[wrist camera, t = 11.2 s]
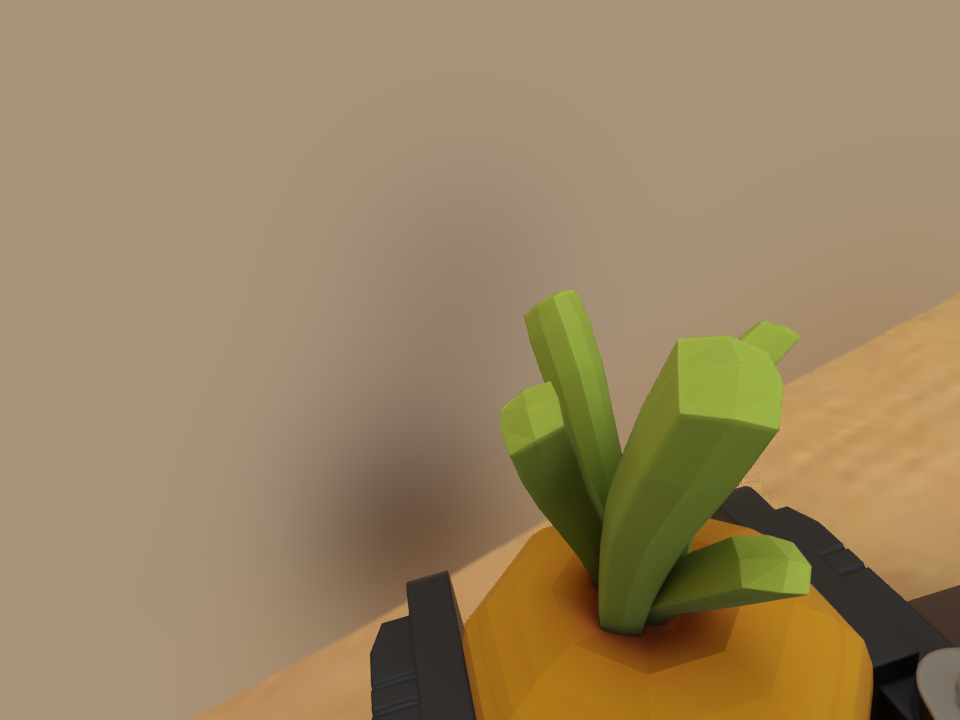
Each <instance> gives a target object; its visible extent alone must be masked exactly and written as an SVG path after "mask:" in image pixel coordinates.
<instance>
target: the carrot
mask: <svg viewBox="0 0 960 720" xmlns="http://www.w3.org/2000/svg"><path fill="white" fill-rule="evenodd" d="M524 317H525V322H526V326H527V330H528V334H529V338H530V342H531V345H532V348H533V351H534V354H535V356H536V360H537V362H538V365H539V368H540V371H541V374H542V377H543V380H544V383H543V384H540V385H537V386H534V387H531V388H528V389H525V390H523V391H521V393H519V394H518V395H517V396H516V397H515V398H514V399H512V400H511V401H510V402H509V403H508V404H507V405H505V406H504V407H503V408H502V409H501V410H500V412H501V413H500V414H501V432H502V435H503V438H504V440H505V443H506V446H507V449H508V452H509V455H510V457H511V459H512V461H513V463H514V466H515V468H516V470H517V472H518V475H519V477H520V479H521V481H522V483H523V485H524V486H525V488H526V489H527V490H528V492H529V494H530V495H531V497H532V498H533V500H534V501H535V503H536V504H537V506H538V507H539V509H540V510H541V511H542V512H543V514H544V515H545V516H546V517H547V519H548V520H549V521H550V522H551V524H552V525H553V526H551V527H547V528H544V529H542V530H540V531H539V532H537V533H535V534H534V535H532V536H531V538H530V539H529V540H528V542H527V543H526V544H525V546H524V547H523V548H522V549H521V551H520V552H519V553H518V555H517V556H516V557H515V559H514V560H513V561H512V563H511V564H510V565H509V566H508V568H507V569H506V570H505V572H504V573H503V574H502V576H501V577H500V578H499V580H498V581H497V582H496V583H495V585H494V586H493V587H492V589H491V590H490V591H489V593H488V594H487V595H486V597H485V598H484V599H483V601H482V602H481V603H480V604H479V606H478V607H477V608H476V610H475V611H474V612H473V614H472V615H471V616H470V618H469V619H468V620H467V621H466V623H465V628H464V636H463V643H462V644H463V651H464V656H465V662H466V667H467V672H468V677H469V683H470V688H471V693H472V699H473V704H474V709H475V714H476V720H870V713H871V705H872V696H873V665H872V662H871V659H870V656H869V653H868V650H867V648H866V645H865V642H864V640H863V639H862V638H861V637H860V636H859V635H858V633H857V632H856V631H855V630H854V629H853V628H852V627H851V626H850V625H849V624H848V623H847V622H846V621H845V620H844V619H843V617H842V616H841V615H840V614H839V613H838V612H837V611H836V610H835V609H834V608H833V607H832V606H831V605H830V604H829V602H828V601H827V600H826V599H825V598H824V597H823V596H822V595H821V594H820V593H819V592H818V591H817V590H816V589H815V587H814V586H813V585H812V584H811V583H810V579H811V565H810V564H809V562H808V561H807V560H806V558H805V557H804V556H803V555H802V553H801V552H800V551H799V549H798V548H797V547H796V546H795V544H794V543H793V542H790V541H786V540H783V539H780V538H776V537H773V536H769V535H763V534H761V533H759V532H757V531H755V530H753V529H750V528H746V527H742V526H738V525H734V524H730V523H726V522H722V521H718V520H714V519H710V517H711V516H712V515H713V514H714V513H715V511H716V510H717V509H718V508H719V507H720V506H721V505H722V503H723V502H724V501H725V500H726V499H727V498H728V497H729V495H730V494H731V493H732V492H733V491H734V490H735V488H736V487H737V486H738V484H739V483H740V482H741V480H742V479H743V478H744V476H745V475H746V474H747V472H748V471H749V470H750V468H751V467H752V466H753V464H754V463H755V462H756V460H757V459H758V458H759V456H760V455H761V454H762V452H763V451H764V449H765V448H766V447H767V445H768V444H769V443H770V441H771V440H772V439H773V437H774V436H775V435H776V433H777V432H778V431H779V428H780V418H781V407H782V397H783V386H784V383H783V381H782V379H781V377H780V375H779V373H778V370H777V368H776V365H777V364H778V363H779V361H780V360H781V359H782V358H783V357H784V356H785V355H786V353H787V352H788V351H789V350H790V349H791V348H792V347H793V346H794V345H795V343H796V342H797V341H798V340H799V339H800V338H801V336H799V335H798V334H796V333H795V332H793V331H792V330H791V329H789V328H788V327H786V326H783V325H779V324H774V323H769V322H765V321H762V322H760V323H758V324H755V325H754V326H753V327H752V328H750V329H749V330H748V331H747V332H746V333H744V334H743V335H742V336H741V337H739V338H738V339H736V338H733V337H731V336H728V335H721V336H709V337H696V338H684V339H678V340H677V342H676V344H675V346H674V347H673V349H672V351H671V353H670V355H669V357H668V359H667V361H666V363H665V364H664V366H663V368H662V370H661V372H660V374H659V376H658V378H657V379H656V381H655V383H654V385H653V387H652V389H651V391H650V393H649V394H648V396H647V398H646V400H645V402H644V404H643V406H642V408H641V410H640V413H639V415H638V417H637V420H636V422H635V425H634V427H633V430H632V432H631V435H630V437H629V440H628V442H627V444H626V447H625V449H624V452H623V454H622V453H621V448H620V443H619V438H618V434H617V429H616V424H615V419H614V415H613V410H612V405H611V400H610V396H609V391H608V386H607V381H606V377H605V372H604V367H603V362H602V359H601V356H600V352H599V350H598V346H597V343H596V339H595V336H594V333H593V330H592V327H591V324H590V321H589V317H588V315H587V313H586V311H585V308H584V306H583V304H582V302H581V300H580V298H579V296H578V294H577V292H576V291H573V290H564V291H561V292H559V293H555V294H553V295H550V296H547V297H546V298H544V299H543V300H542V301H540V302H539V303H537V304H536V305H535V306H534V307H533V308H532V309H531V310H530V311H529V312H528V313H527V314H526V315H525V316H524Z"/></svg>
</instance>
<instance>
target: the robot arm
mask: <svg viewBox="0 0 960 720" xmlns="http://www.w3.org/2000/svg"><path fill="white" fill-rule="evenodd" d="M710 519H714V520H718V521H722V522H726V523H730V524H734V525H738V526H742V527H746V528H750V529H753V530H755V531H757V532H759V533H761V534H763V535H769V536H773V537H776V538H780V539H783V540H786V541H790V542H793V543H794V544H795V546H796V547H797V548H798V549H799V551H800V552H801V553H802V555H803V556H804V557H805V558H806V560H807V561H808V562H809V564H810V565H811V579H810V583H811V584H812V585H813V586H814V587H815V589H816V590H817V591H818V592H819V593H820V594H821V595H822V596H823V597H824V598H825V599H826V600H827V601H828V602H829V604H830V605H831V606H832V607H833V608H834V609H835V610H836V611H837V612H838V613H839V614H840V615H841V616H842V617H843V619H844V620H845V621H846V622H847V623H848V624H849V625H850V626H851V627H852V628H853V629H854V630H855V631H856V632H857V633H858V635H859V636H860V637H861V638H862V639H863V640H864V642H865V645H866V648H867V650H868V653H869V656H870V659H871V662H872V665H873V696H872V705H871V713H870V720H960V648H958V647H957V646H956V645H954V644H953V643H952V642H951V641H949V640H948V639H947V638H946V637H945V636H944V635H943V634H942V633H940V632H939V631H938V630H937V629H936V628H935V627H934V626H933V625H932V624H931V623H929V622H928V621H927V620H926V619H925V618H924V617H923V616H922V615H921V614H920V613H918V612H917V611H916V610H915V609H914V608H913V607H912V606H911V605H910V604H909V603H907V602H906V601H905V600H904V599H903V598H902V597H901V596H900V595H899V594H898V593H896V592H895V591H894V590H893V589H892V588H891V587H890V586H889V585H888V584H886V583H885V582H884V581H883V580H882V579H881V578H880V577H879V576H878V575H877V574H875V573H874V572H873V571H872V570H871V569H870V568H869V567H868V568H866V567H865V566H864V563H863V562H862V561H861V560H860V559H859V558H858V557H857V556H856V555H855V554H853V553H852V552H851V551H850V550H849V549H845V548H844V546H843V544H842V543H841V542H840V541H839V540H838V539H837V538H836V537H835V536H834V535H833V534H831V533H830V532H829V531H828V530H827V529H826V528H825V527H824V526H823V525H821V524H820V523H819V522H818V521H816V520H814V519H812V518H810V517H808V516H806V515H803V514H801V513H799V512H797V511H795V510H793V509H791V508H789V507H783V508H780V509H777V510H774V509H773V508H772V507H771V506H770V505H769V504H768V503H767V502H766V501H765V500H764V499H763V498H762V497H761V496H760V495H759V494H758V493H757V492H756V491H755V490H754V489H752V488H751V487H748V486H744V487H740V488H737V489H735V490H734V491H733V492H732V493H731V494H730V495H729V497H728V498H727V499H726V500H725V501H724V502H723V503H722V505H721V506H720V507H719V508H718V509H717V510H716V511H715V513H714V514H713V515H712V516H711V517H710ZM406 588H407V598H408V608H409V616H406V617H403V618H399V619H396V620H392V621H389V622H385V623H382V625H381V627H380V630H379V632H378V635H377V637H376V640H375V643H374V645H373V648H372V650H371V653H370V666H371V686H372V691H371V700H372V714H373V718H372V720H476V714H475V709H474V704H473V699H472V693H471V688H470V683H469V677H468V672H467V667H466V662H465V656H464V651H463V644H462V643H463V636H464V625H463V622H462V618H461V615H460V611H459V607H458V604H457V600H456V596H455V593H454V589H453V585H452V582H451V578H450V575H449V572H448V570H447V571H443V572H440V573H436V574H433V575H429V576H426V577H422V578H419V579H415V580H412V581H408V582H407V583H406Z"/></svg>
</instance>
